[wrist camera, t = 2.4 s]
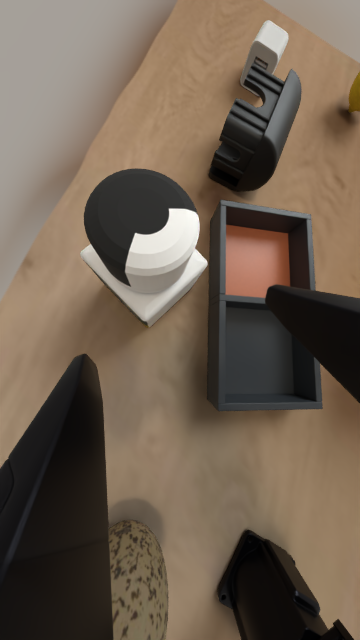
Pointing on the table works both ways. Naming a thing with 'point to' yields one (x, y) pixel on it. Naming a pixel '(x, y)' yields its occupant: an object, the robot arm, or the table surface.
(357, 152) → the table surface
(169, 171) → the table surface
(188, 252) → the medicine bottle
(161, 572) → the decorative egg
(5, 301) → the table surface
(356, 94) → the lemon
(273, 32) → the usb wall charger
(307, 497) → the table surface
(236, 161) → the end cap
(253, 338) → the divided tray
